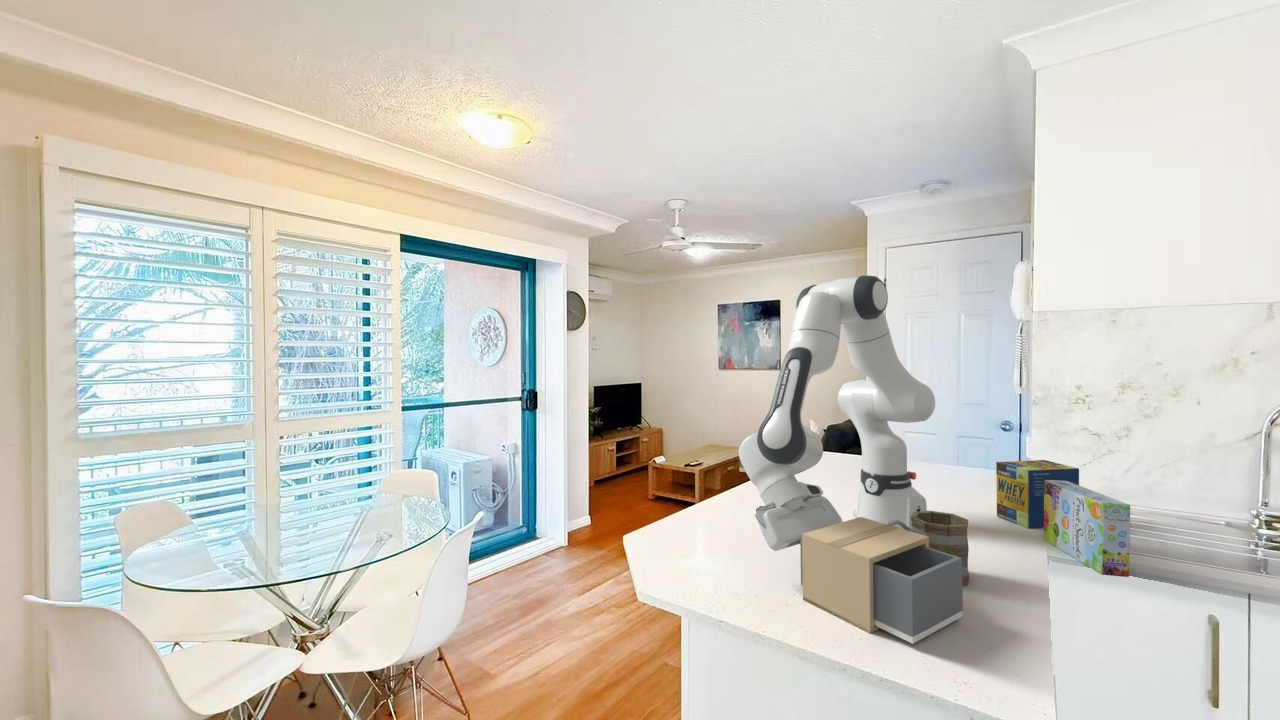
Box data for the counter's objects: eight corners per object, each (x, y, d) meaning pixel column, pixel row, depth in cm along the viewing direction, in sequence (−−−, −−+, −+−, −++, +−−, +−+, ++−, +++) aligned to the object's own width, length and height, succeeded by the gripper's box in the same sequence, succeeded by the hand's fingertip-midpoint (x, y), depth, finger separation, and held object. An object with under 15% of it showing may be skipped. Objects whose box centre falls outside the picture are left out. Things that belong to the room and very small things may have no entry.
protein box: (995, 516, 142) (995, 461, 142) (1045, 513, 144) (1044, 459, 144) (1028, 529, 132) (1027, 469, 132) (1081, 526, 134) (1080, 467, 134)
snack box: (1133, 578, 103) (1132, 504, 103) (1101, 576, 104) (1100, 503, 104) (1067, 540, 124) (1067, 479, 124) (1041, 539, 125) (1041, 478, 125)
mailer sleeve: (861, 576, 105) (861, 516, 105) (929, 603, 94) (929, 536, 93) (802, 599, 96) (801, 533, 96) (870, 633, 84) (869, 558, 84)
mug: (959, 567, 109) (958, 512, 109) (980, 590, 99) (979, 528, 99) (880, 561, 113) (879, 508, 113) (893, 583, 102) (892, 524, 102)
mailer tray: (850, 571, 106) (849, 523, 106) (962, 616, 87) (962, 557, 87) (801, 589, 98) (800, 537, 98) (912, 643, 79) (912, 579, 79)
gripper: (758, 500, 103) (797, 564, 95) (824, 485, 114) (864, 541, 106) (743, 516, 107) (779, 578, 99) (808, 500, 118) (845, 555, 110)
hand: (823, 559), depth 103 cm, fingers closed, pressing on mailer tray
